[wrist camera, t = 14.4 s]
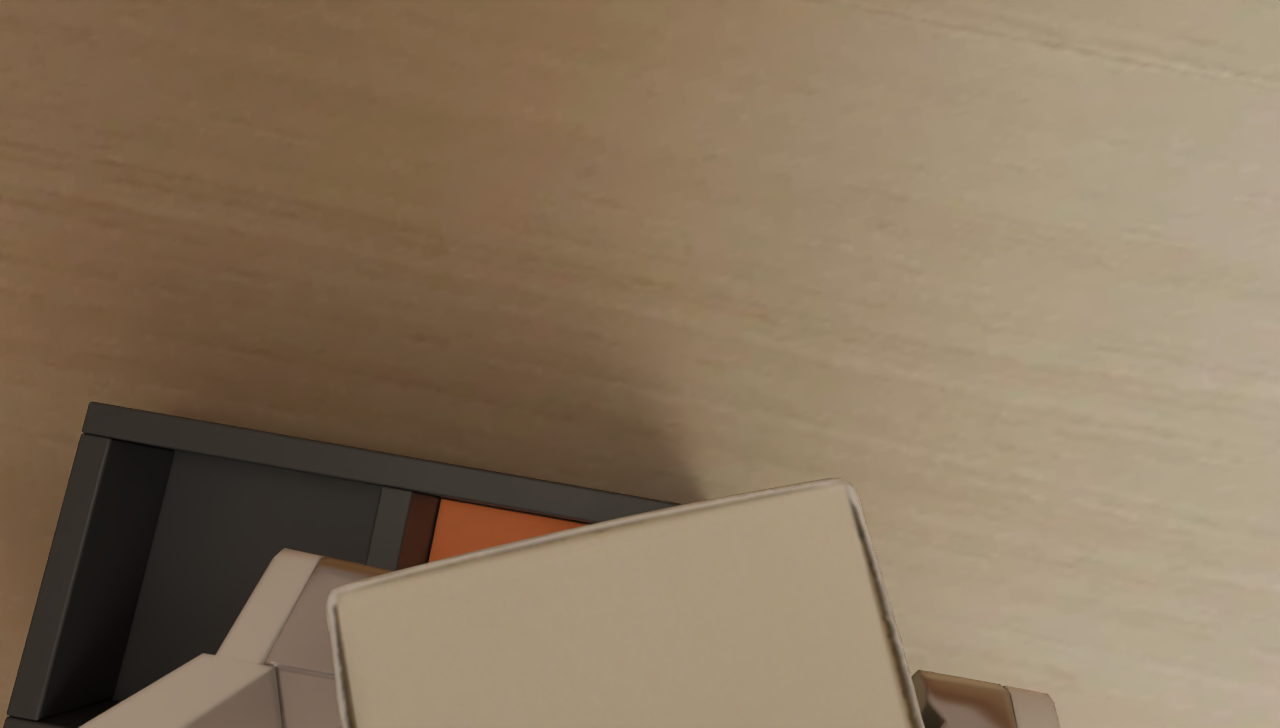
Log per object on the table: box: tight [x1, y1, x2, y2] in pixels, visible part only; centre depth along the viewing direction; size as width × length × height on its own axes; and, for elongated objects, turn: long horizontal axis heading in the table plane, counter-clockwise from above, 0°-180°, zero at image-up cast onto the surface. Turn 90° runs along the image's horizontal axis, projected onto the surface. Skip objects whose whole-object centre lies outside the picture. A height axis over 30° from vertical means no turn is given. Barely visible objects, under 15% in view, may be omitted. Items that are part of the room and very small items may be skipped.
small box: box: [326, 478, 925, 728], centre depth 12 cm, size 5×4×8 cm
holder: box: [3, 402, 683, 728], centre depth 26 cm, size 8×16×4 cm, turn 80°
